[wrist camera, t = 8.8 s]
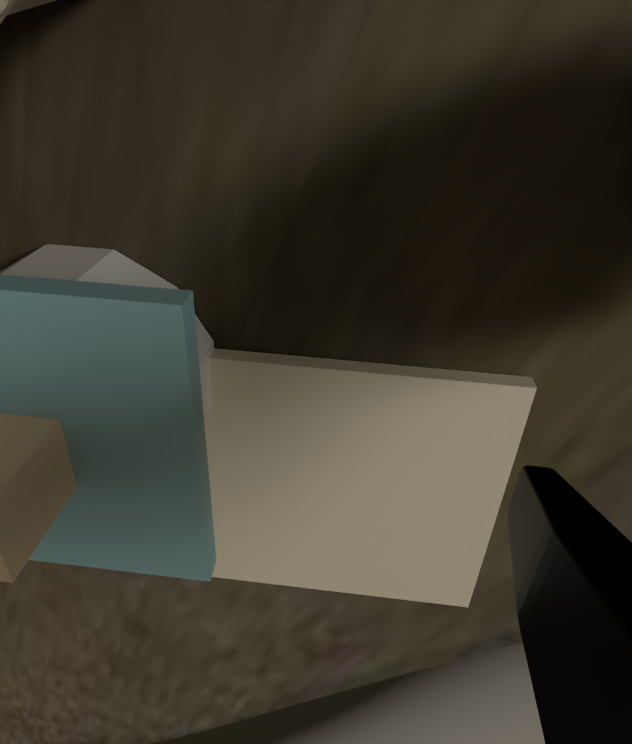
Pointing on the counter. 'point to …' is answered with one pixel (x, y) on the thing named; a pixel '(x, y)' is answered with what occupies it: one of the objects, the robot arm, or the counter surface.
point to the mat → (358, 472)
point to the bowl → (108, 270)
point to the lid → (102, 430)
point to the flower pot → (18, 6)
